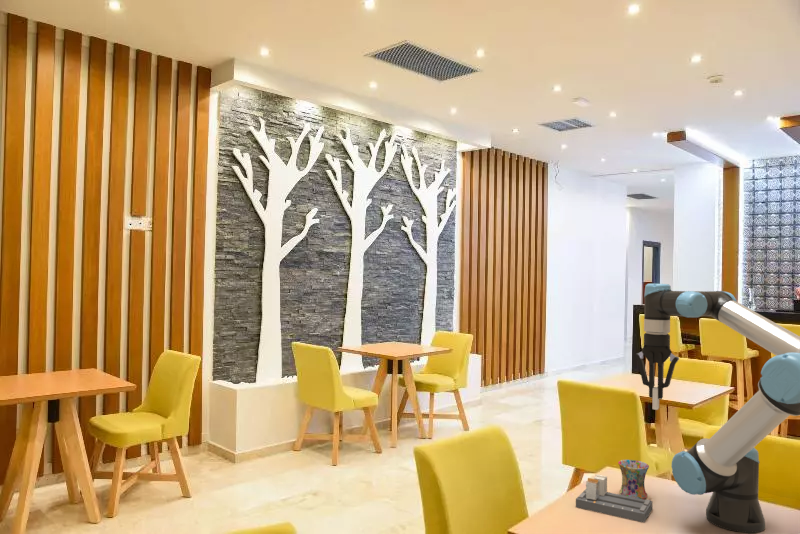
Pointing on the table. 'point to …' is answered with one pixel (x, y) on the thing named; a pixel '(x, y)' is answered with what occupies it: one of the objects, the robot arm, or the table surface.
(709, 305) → the robot arm
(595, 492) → the fader
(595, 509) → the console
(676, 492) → the table surface
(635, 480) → the mug
